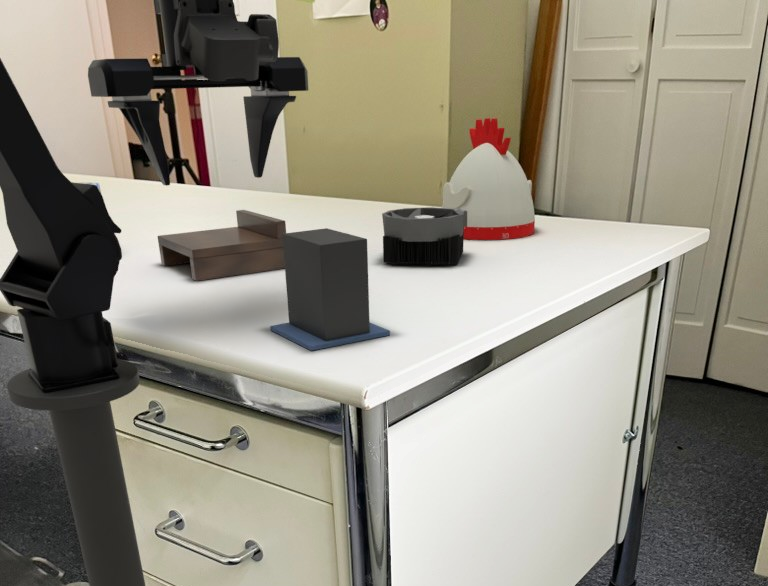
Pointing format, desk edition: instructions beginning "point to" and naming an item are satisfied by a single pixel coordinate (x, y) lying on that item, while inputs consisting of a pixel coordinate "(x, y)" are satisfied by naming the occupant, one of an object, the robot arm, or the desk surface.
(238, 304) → the desk surface
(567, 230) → the desk surface
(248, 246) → the desk shelf
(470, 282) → the desk surface
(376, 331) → the rubber mat
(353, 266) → the dark grey block
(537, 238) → the desk surface
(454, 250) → the cpu cooler
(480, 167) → the kitchen timer
